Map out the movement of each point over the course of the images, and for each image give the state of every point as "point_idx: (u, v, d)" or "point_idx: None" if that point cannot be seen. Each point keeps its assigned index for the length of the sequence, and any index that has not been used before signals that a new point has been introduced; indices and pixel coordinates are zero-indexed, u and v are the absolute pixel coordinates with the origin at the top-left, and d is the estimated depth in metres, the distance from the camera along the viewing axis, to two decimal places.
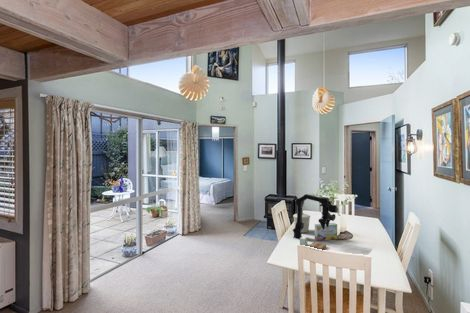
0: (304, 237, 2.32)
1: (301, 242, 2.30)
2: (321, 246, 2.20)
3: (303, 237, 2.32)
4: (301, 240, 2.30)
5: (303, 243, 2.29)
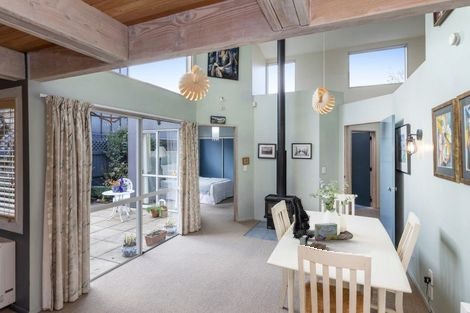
0: (304, 237, 2.32)
1: (301, 242, 2.30)
2: (321, 246, 2.20)
3: (303, 237, 2.32)
4: (301, 240, 2.30)
5: (303, 243, 2.29)
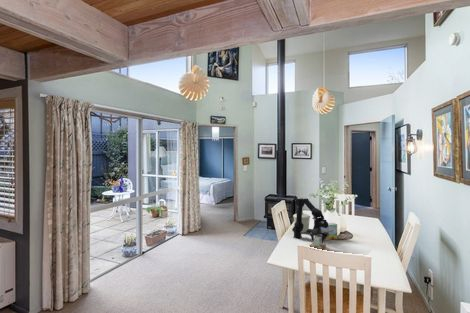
0: (318, 237, 2.24)
1: (315, 242, 2.23)
2: (321, 246, 2.20)
3: (317, 237, 2.24)
4: (315, 240, 2.23)
5: (317, 243, 2.21)
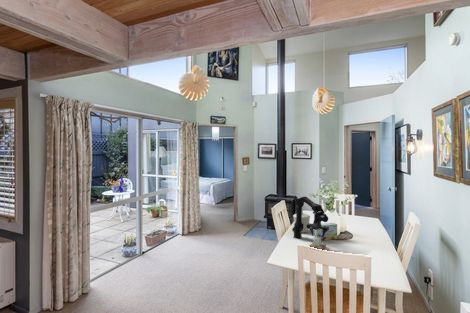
0: (318, 237, 2.24)
1: (315, 242, 2.23)
2: (321, 246, 2.20)
3: (317, 237, 2.24)
4: (315, 240, 2.23)
5: (317, 243, 2.21)
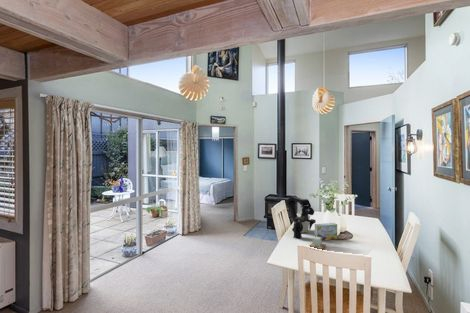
0: (318, 237, 2.24)
1: (315, 242, 2.22)
2: (321, 246, 2.20)
3: (317, 237, 2.24)
4: (315, 240, 2.22)
5: (318, 243, 2.21)
